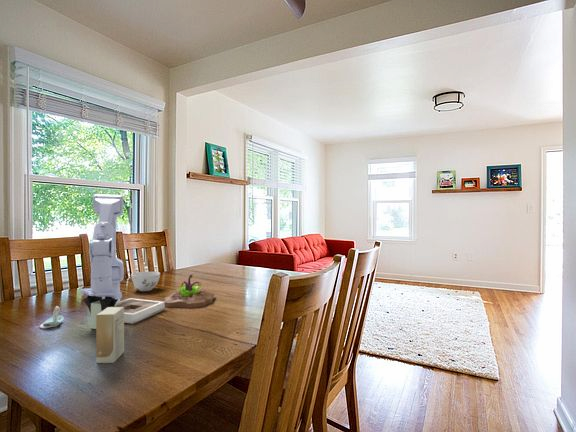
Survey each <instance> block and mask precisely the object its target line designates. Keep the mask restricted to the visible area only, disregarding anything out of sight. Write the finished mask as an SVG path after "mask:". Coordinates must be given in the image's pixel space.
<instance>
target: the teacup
mask: <svg viewBox="0 0 576 432" xmlns="http://www.w3.org/2000/svg"><path fill="white" fill-rule="evenodd" d="M130 276H131V280H132V284H133V285H134V287H135V288H136V289H137V290H138V291H139V292H149V291H152V290H153V289H154V288H155V287H156V286H157V284H158V283H159V280H160V277H161V272H158V271H139V272H132V273H131V275H130Z"/></svg>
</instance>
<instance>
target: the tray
mask: <svg viewBox="0 0 576 432" xmlns="http://www.w3.org/2000/svg"><path fill="white" fill-rule="evenodd" d="M128 301H138V302H147V303H156V304H155V305H153V306H150V307H148V308H145V309H143V310H140V311H138V312H135V313H125V312H124V324H125V323H127V324H135V323H138V322H140V321H143V320H145V319H147V318H149V317H151V316H154V315H156V314H159V313H160V312H163V311H165V307H164V306H165V302H163V301H160V300H151V299H142V298H141V299H140V298H131V297H130V298H126V299H123V300H120V302H117V303H116V304H115V306H116V305H119V304H122V303H125V302H128ZM129 310H134V309H129Z"/></svg>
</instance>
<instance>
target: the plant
mask: <svg viewBox="0 0 576 432" xmlns="http://www.w3.org/2000/svg"><path fill="white" fill-rule="evenodd" d="M193 277H194V275H193V274H189V276H188V278H187V281H185V280H184V281H182V282H181V283H180V284H179V289H178V288H177V289H176V291H175V292H172V293H170V294H169V295H167V296H165V297H164V298H162V302H165V306H164V308H168V309H169V308H170V309H171V308H180V309H181V308H183V309H198V308H205V307H206V306H207V305H210V304H212V303H213V300H214V298H215V293H214V292H210V291H207V290H203V291H202V290H201V289H202V288H201V286H202V282H201V281H194V282H192V283H191V279H193ZM196 284H197V285H196ZM184 285H185V286H184ZM199 287H200V288H199ZM198 288H199V289H198Z"/></svg>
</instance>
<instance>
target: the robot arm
mask: <svg viewBox="0 0 576 432" xmlns="http://www.w3.org/2000/svg"><path fill="white" fill-rule="evenodd" d="M124 201H125V200H124V196H123V195H122V194H98V193H95V194H93V196H92V210H94V213H95V215H96V216H99V217H98V220H99V221H98V223H96V224H95V226H94V229H93V235H92V241H89V244H88V254H89V255H88V256H89V264H90V287H89V288H88V287H87V288H81V289H80V296H83V297H84V296H86V297H85V298H83V302H84V303H85V305H86V306H87V308H88V311H89V314H90V315H91V303H93V302H96V301H99V302H100V304H101V307H102V311H103V310H104V309H106V308H107V307H114V306H115V304H116V303H117V302H120V301H121V299H122V298H123V291H121V282H123V280H124V277H125V273H124V272H125V267H124V266H125V265H124V262H123V260H121V259H120V258H119V257H117V219H118V218H119V217H120V216H122V215H123V213H124Z"/></svg>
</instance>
